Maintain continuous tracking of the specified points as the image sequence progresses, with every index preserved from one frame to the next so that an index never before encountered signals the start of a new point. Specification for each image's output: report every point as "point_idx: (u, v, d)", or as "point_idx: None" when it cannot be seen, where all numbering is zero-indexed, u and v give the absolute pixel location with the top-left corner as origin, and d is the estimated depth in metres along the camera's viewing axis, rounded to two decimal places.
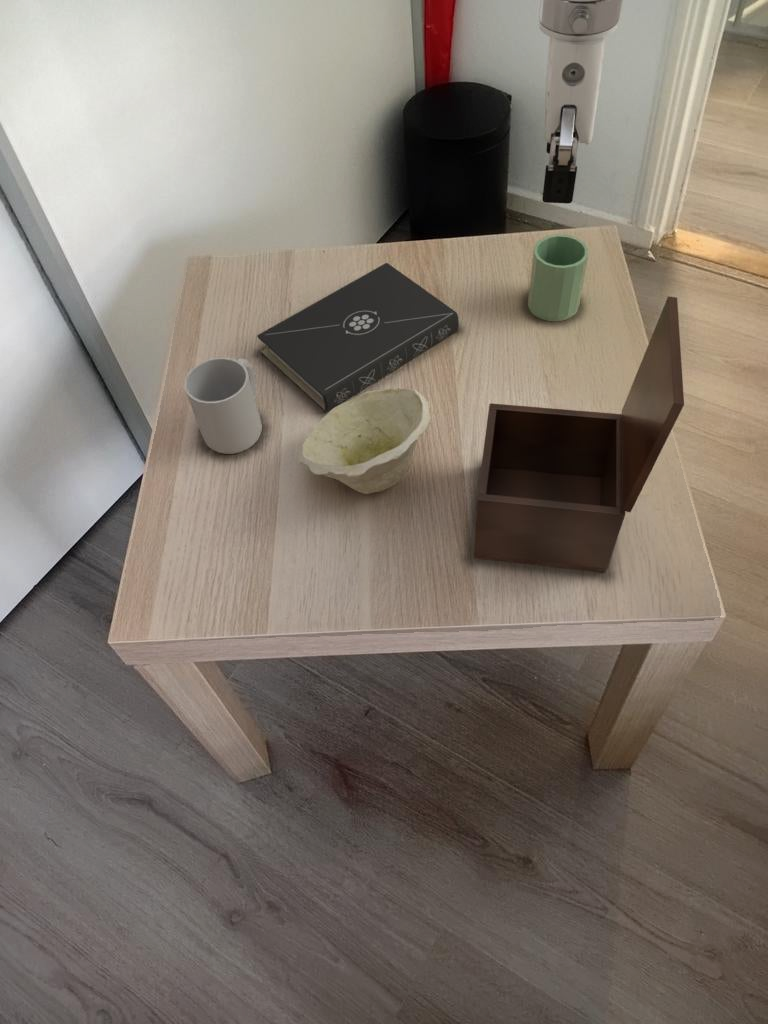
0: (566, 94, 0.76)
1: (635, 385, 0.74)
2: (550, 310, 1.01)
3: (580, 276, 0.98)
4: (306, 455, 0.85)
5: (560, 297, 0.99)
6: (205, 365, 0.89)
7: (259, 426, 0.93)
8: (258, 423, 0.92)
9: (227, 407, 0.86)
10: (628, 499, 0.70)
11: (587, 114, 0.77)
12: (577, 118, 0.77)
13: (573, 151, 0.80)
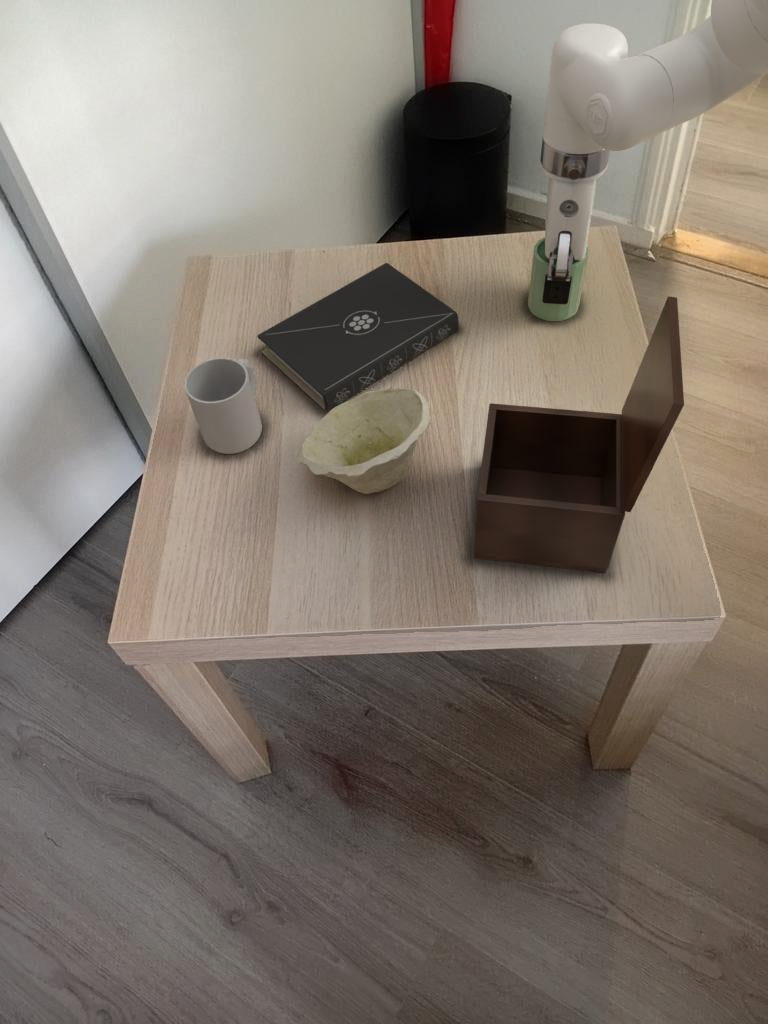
0: (563, 223, 0.89)
1: (635, 385, 0.74)
2: (550, 310, 1.01)
3: (580, 276, 0.98)
4: (306, 455, 0.85)
5: None
6: (205, 365, 0.89)
7: (259, 426, 0.93)
8: (258, 423, 0.92)
9: (227, 407, 0.86)
10: (628, 499, 0.70)
11: (581, 238, 0.90)
12: (571, 247, 0.91)
13: (568, 267, 0.94)
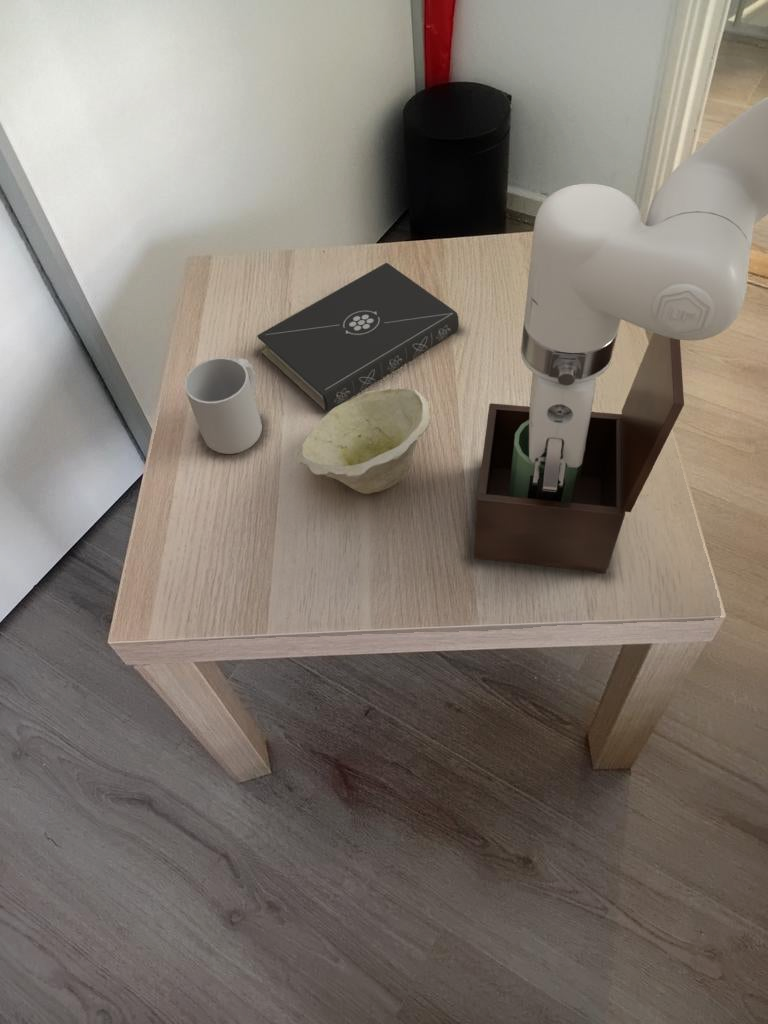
0: (552, 429, 0.66)
1: (635, 385, 0.74)
2: None
3: (575, 474, 0.75)
4: (306, 455, 0.85)
5: None
6: (205, 365, 0.89)
7: (259, 426, 0.93)
8: (258, 423, 0.92)
9: (227, 407, 0.86)
10: (628, 499, 0.70)
11: (576, 446, 0.67)
12: (563, 455, 0.68)
13: (560, 472, 0.71)
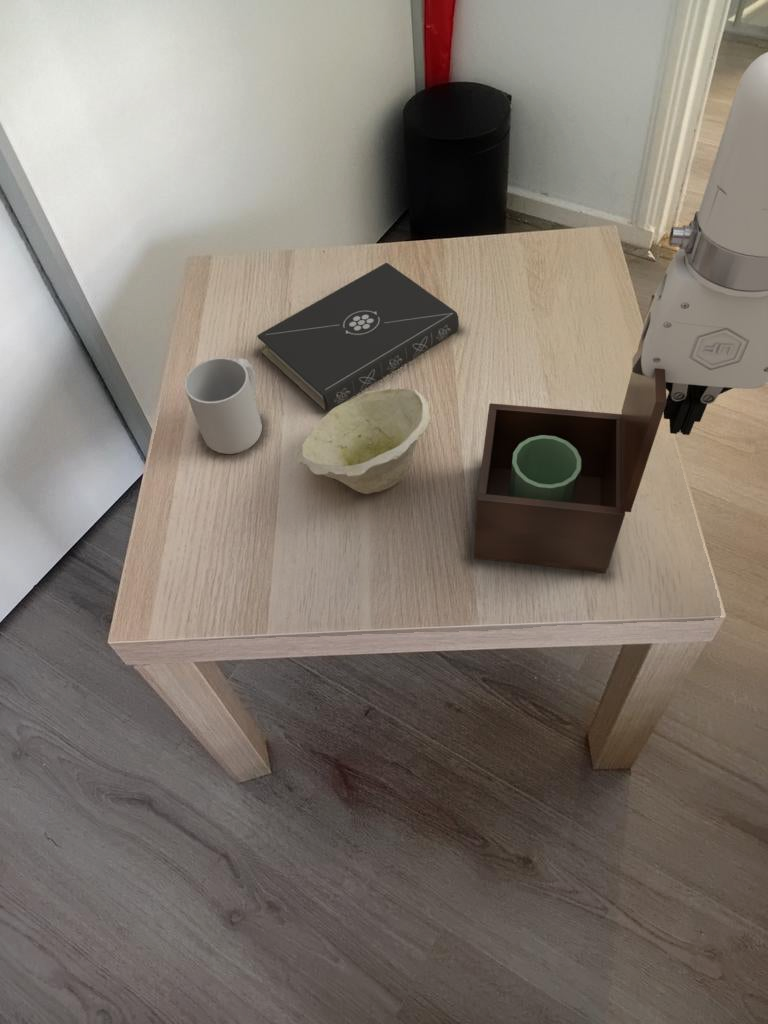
0: (654, 302, 0.60)
1: (630, 385, 0.74)
2: None
3: (571, 492, 0.78)
4: (306, 455, 0.85)
5: None
6: (205, 365, 0.89)
7: (259, 426, 0.93)
8: (258, 423, 0.92)
9: (227, 407, 0.86)
10: (626, 499, 0.70)
11: (648, 340, 0.61)
12: None
13: (672, 383, 0.65)
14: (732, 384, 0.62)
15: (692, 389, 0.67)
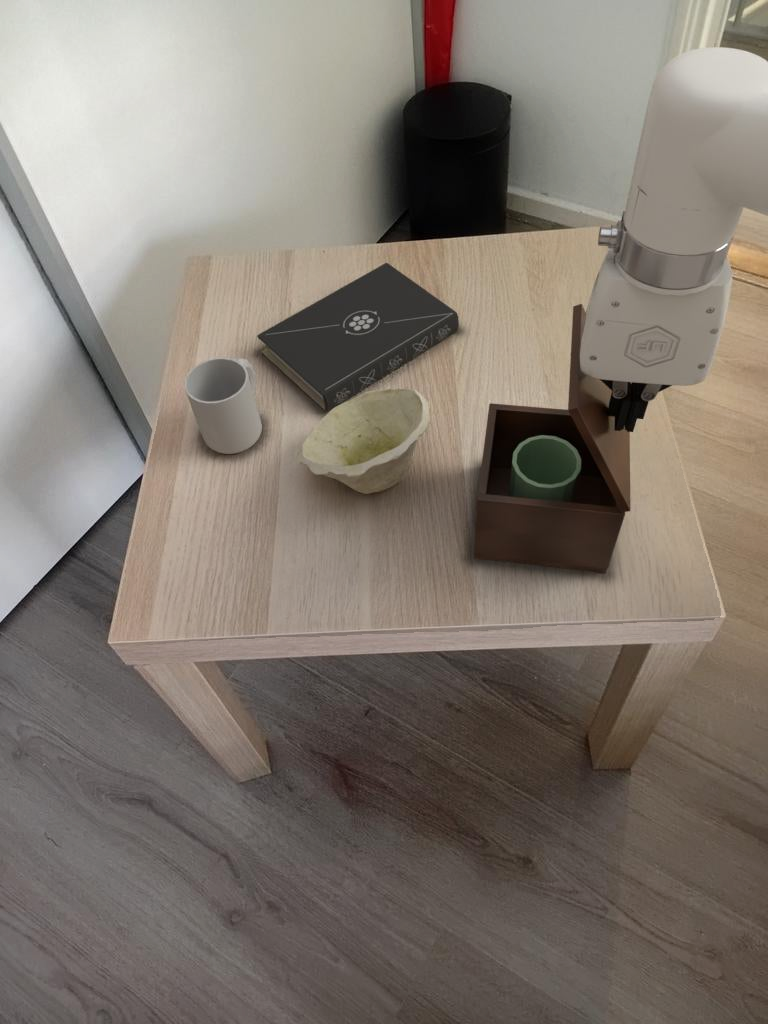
0: (589, 300, 0.61)
1: None
2: None
3: (571, 492, 0.78)
4: (306, 455, 0.85)
5: None
6: (205, 365, 0.89)
7: (259, 426, 0.93)
8: (258, 423, 0.92)
9: (227, 407, 0.86)
10: (616, 500, 0.70)
11: (584, 338, 0.62)
12: None
13: (612, 380, 0.66)
14: (668, 381, 0.62)
15: (634, 387, 0.68)
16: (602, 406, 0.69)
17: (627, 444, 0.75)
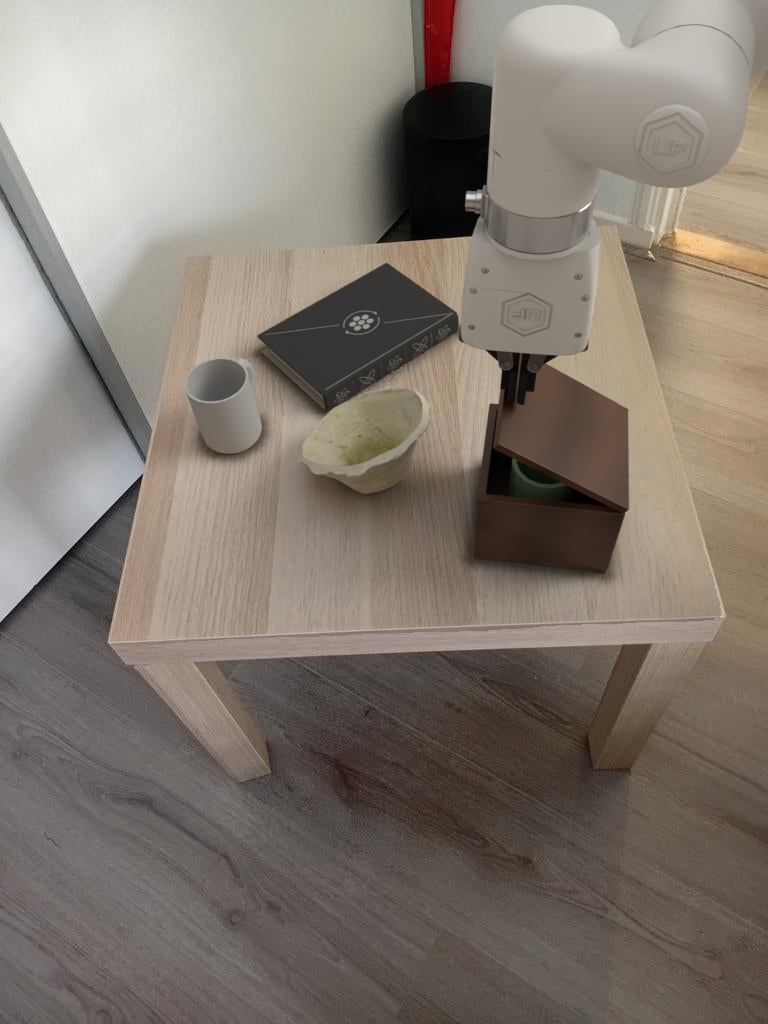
0: None
1: None
2: None
3: (571, 492, 0.78)
4: (306, 455, 0.85)
5: None
6: (205, 365, 0.89)
7: (259, 426, 0.93)
8: (258, 423, 0.92)
9: (227, 407, 0.86)
10: (608, 505, 0.71)
11: (462, 307, 0.61)
12: None
13: None
14: (548, 351, 0.62)
15: (523, 359, 0.67)
16: (558, 425, 0.72)
17: (622, 445, 0.75)
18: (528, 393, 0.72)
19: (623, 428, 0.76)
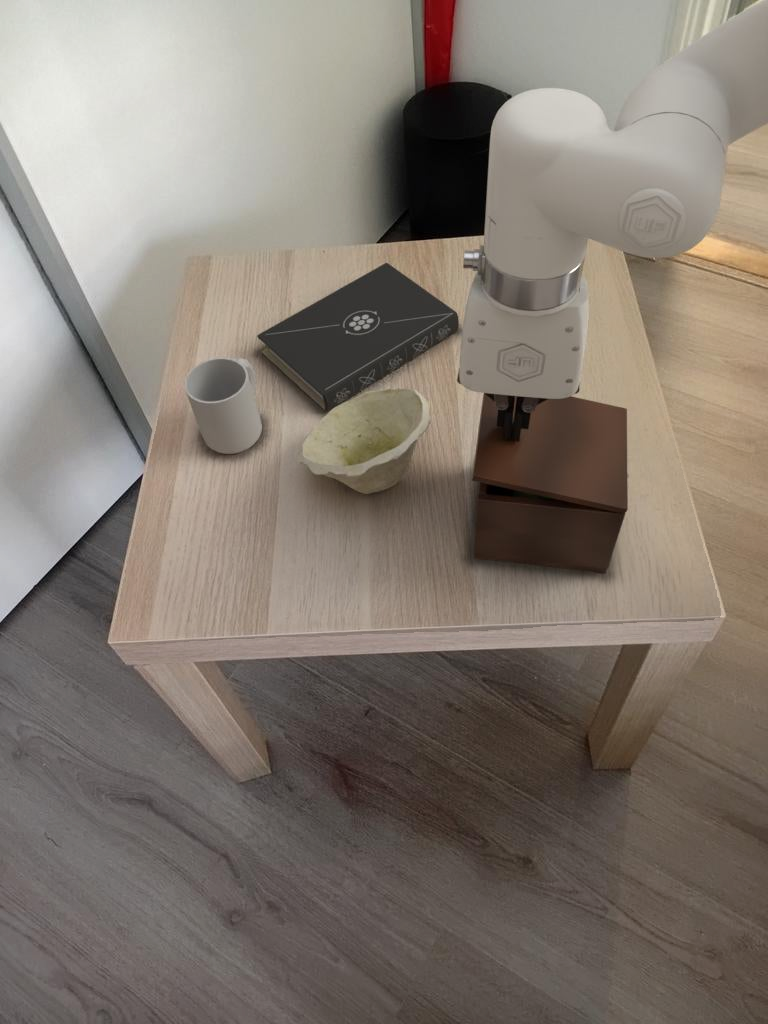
0: None
1: None
2: None
3: None
4: (306, 455, 0.85)
5: None
6: (205, 365, 0.89)
7: (259, 426, 0.93)
8: (258, 423, 0.92)
9: (227, 407, 0.86)
10: (605, 509, 0.72)
11: (460, 354, 0.65)
12: (468, 371, 0.68)
13: None
14: (541, 395, 0.66)
15: (518, 399, 0.71)
16: (542, 443, 0.74)
17: (619, 446, 0.75)
18: None
19: (620, 429, 0.76)
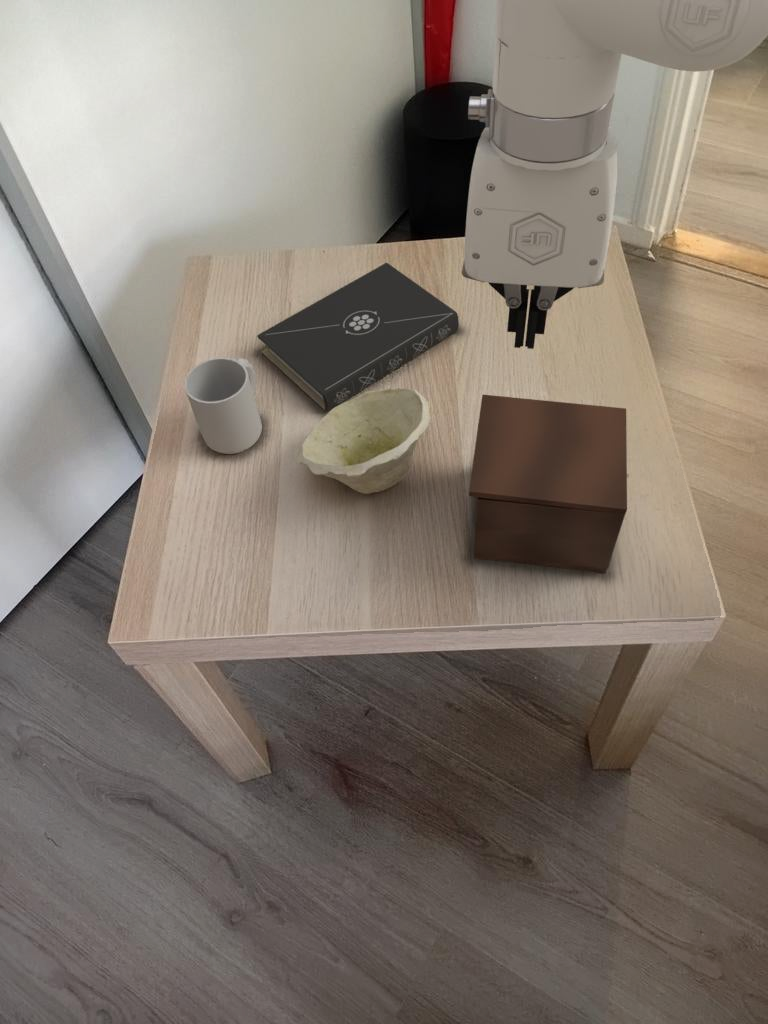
0: None
1: None
2: None
3: None
4: (306, 455, 0.85)
5: None
6: (205, 365, 0.89)
7: (259, 426, 0.93)
8: (258, 423, 0.92)
9: (227, 407, 0.86)
10: (604, 511, 0.72)
11: (465, 233, 0.56)
12: None
13: None
14: (560, 282, 0.57)
15: (532, 296, 0.62)
16: (538, 452, 0.75)
17: (618, 447, 0.75)
18: (503, 433, 0.77)
19: (619, 429, 0.76)
